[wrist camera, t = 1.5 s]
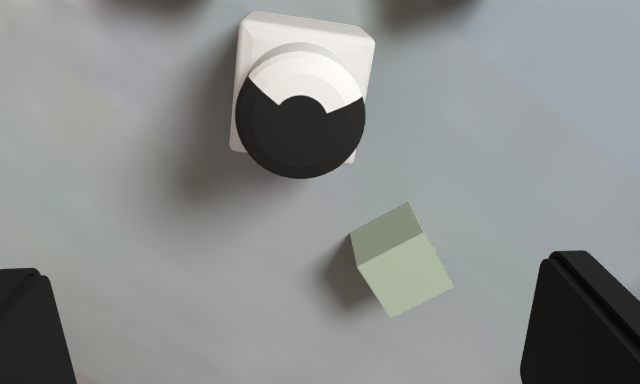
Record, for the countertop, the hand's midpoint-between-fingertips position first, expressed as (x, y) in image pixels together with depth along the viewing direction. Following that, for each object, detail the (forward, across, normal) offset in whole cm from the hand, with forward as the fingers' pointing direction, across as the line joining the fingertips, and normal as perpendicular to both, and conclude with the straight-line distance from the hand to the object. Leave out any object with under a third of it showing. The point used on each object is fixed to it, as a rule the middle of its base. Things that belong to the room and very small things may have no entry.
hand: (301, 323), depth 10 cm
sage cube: (+26, -7, +13) cm, 30 cm away
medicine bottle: (+26, 0, 0) cm, 26 cm away
